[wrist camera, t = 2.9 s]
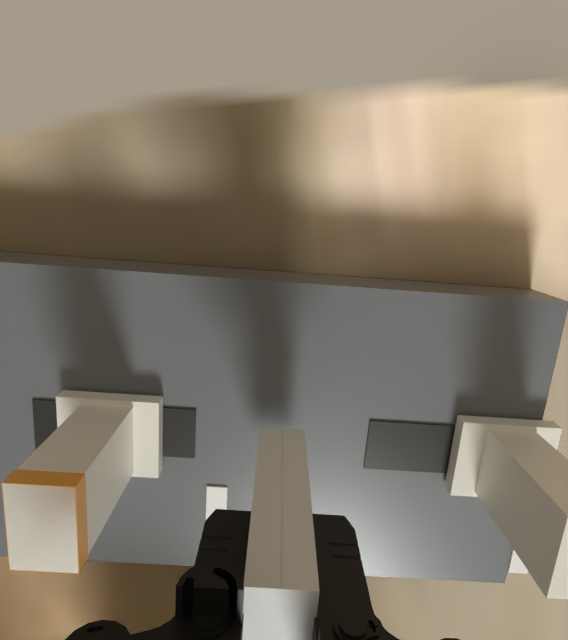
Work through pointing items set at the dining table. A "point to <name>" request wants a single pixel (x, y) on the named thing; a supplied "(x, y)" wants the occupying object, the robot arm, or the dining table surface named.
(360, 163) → the dining table surface
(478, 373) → the panel
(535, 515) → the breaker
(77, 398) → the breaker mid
